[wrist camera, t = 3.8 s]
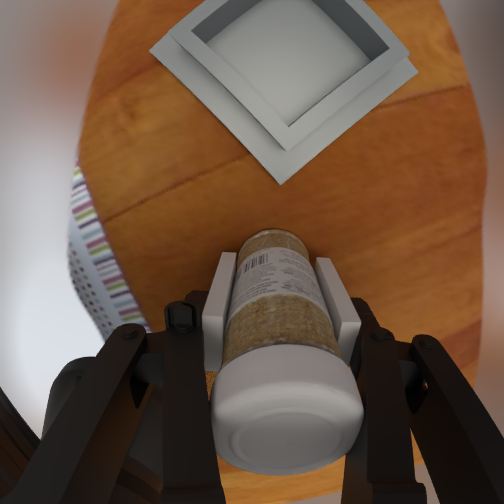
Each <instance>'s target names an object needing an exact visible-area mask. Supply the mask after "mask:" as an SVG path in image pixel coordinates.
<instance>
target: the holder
mask: <svg viewBox="0 0 504 504" xmlns="http://www.w3.org/2000/svg"><path fill="white" fill-rule="evenodd" d="M149 51H150V52H151V53H152V54H153V55H154V56H155V57H156V58H157V59H158V60H159V61H160V62H161V63H162V64H163V65H165V66H166V67H167V68H168V69H169V70H170V71H171V72H172V73H173V74H174V75H175V76H176V77H177V78H178V79H179V80H180V81H181V82H182V83H183V84H184V85H185V86H186V87H187V88H188V89H189V90H190V91H192V92H193V93H194V94H195V95H196V96H197V97H198V98H199V99H200V100H201V101H202V102H203V103H204V104H205V105H206V106H207V107H208V108H209V109H210V110H211V111H212V112H213V114H214V115H215V116H216V117H217V118H218V119H219V120H220V121H221V122H222V123H223V124H224V125H225V126H226V127H227V128H228V129H229V130H230V131H231V132H232V133H233V134H234V135H235V136H236V137H237V138H238V139H239V140H240V142H241V143H242V144H243V145H244V146H245V147H246V148H247V149H248V150H249V151H250V152H251V153H252V154H253V155H254V157H255V158H256V159H257V160H258V161H259V162H260V163H261V164H262V165H263V166H264V167H265V169H266V170H267V171H268V172H269V173H270V174H271V175H272V176H273V177H274V178H275V180H276V181H277V182H278V183H279V184H280V185H282V184H283V183H284V182H285V181H286V180H288V179H289V178H290V177H291V176H292V175H293V174H295V173H296V172H297V171H298V170H299V169H301V168H302V167H303V166H304V165H305V164H306V163H308V162H309V161H310V160H311V159H312V158H314V157H315V156H316V155H317V154H318V153H319V152H321V151H322V150H323V149H324V148H325V147H327V146H328V145H329V144H330V143H331V142H333V141H334V140H335V139H336V138H338V137H339V136H340V135H341V134H342V133H344V132H345V131H346V130H347V129H348V128H350V127H351V126H352V125H353V124H355V123H356V122H357V121H358V120H359V119H361V118H362V117H363V116H364V115H366V114H367V113H368V112H369V111H370V110H372V109H373V108H374V107H375V106H377V105H378V104H379V103H380V102H382V101H383V100H384V99H385V98H387V97H388V96H389V95H390V94H392V93H393V92H394V91H395V90H397V89H398V88H399V87H400V86H402V85H403V84H404V83H406V82H407V81H408V80H409V79H411V78H412V77H413V76H414V75H416V74H417V73H418V71H417V70H416V68H415V67H414V66H413V64H412V63H411V62H410V60H409V59H408V58H407V56H408V55H410V52H409V51H408V50H407V49H406V48H405V46H404V45H403V44H402V43H401V41H400V40H399V39H398V38H397V37H396V36H395V34H394V33H393V32H392V31H391V30H390V29H389V28H388V26H387V25H386V24H385V23H384V22H383V21H382V20H381V19H380V18H379V17H378V16H377V15H376V13H375V12H374V11H373V10H372V9H371V8H370V7H369V6H368V5H367V4H366V3H365V2H364V1H363V0H205V1H204V2H203V3H202V4H200V5H199V6H198V7H197V8H195V9H194V10H193V11H192V12H190V13H189V14H188V15H187V16H186V17H184V18H183V19H182V20H181V21H180V22H179V23H177V24H176V25H175V26H174V27H173V28H172V29H171V30H169V31H168V32H167V34H166V35H165V36H164V37H163V38H162V39H161V40H160V41H159V42H157V43H156V44H155V45H154V46H153V47H152V48H151V49H150V50H149Z"/></svg>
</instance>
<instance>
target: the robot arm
mask: <svg viewBox="0 0 504 504" xmlns="http://www.w3.org/2000/svg"><path fill="white" fill-rule="evenodd" d="M314 273H315V276H316V279H317V282H318V284H319V288H320V290H321V293H322V296H323V299H324V302H325V304H326V307H327V310H328V313H329V316H330V319H331V322H332V325H333V328H334V336H335V338H336V342H337V344H338V347H339V351H340V353H341V356H342V359H343V362H344V363H345V364H346V365H347V366H348V367H349V366H350V367H351V370H352V374H353V376H354V378H355V381H356V384H357V388H358V391H359V394H360V397H361V401H362V404H363V408H364V420H363V423H362V426H361V428H360V431H359V433H358V436H357V438H356V440H355V442H354V444H353V446H352V448H351V449H350V451H349V452H348V453H347V454H346V458H345V469H344V479H343V489H342V497H341V504H427V495H426V488H425V486H424V484H423V483H417V481H416V479H415V470H414V458H413V448H412V439H411V431H412V433H413V435H414V438H415V440H416V442H417V445H418V447H419V450H420V452H421V455H422V457H423V460H424V462H425V465H426V467H427V470H428V473H429V475H430V478H431V480H432V483H433V486H434V488H435V491H436V494H437V497H438V499H439V502H440V504H504V438H503V436H502V434H501V433H500V431H499V430H498V428H497V426H496V424H495V423H494V421H493V420H492V418H491V417H490V415H489V413H488V412H487V410H486V409H485V407H484V405H483V404H482V402H481V401H480V399H479V398H478V396H477V395H476V393H475V392H474V390H473V389H472V387H471V386H470V384H469V383H468V381H467V380H466V378H465V377H464V376H463V374H462V373H461V371H460V370H459V368H458V367H457V366H456V364H455V363H454V361H453V360H452V359H451V357H450V356H449V354H448V353H447V352H446V350H445V349H444V348H443V346H442V345H441V343H440V342H439V341H438V340H437V339H435V338H434V337H432V336H430V335H424V334H420V335H416V336H415V337H413V340H412V343H406V342H400V341H396V340H395V338H394V335H393V333H391V332H390V331H389V330H387V329H385V328H382V327H380V325H379V324H378V322H377V320H376V318H375V316H374V315H373V313H372V311H371V310H370V307H369V306H368V304H367V303H366V302H365V301H364V300H362V299H361V298H350V297H349V295H348V293H347V291H346V289H345V287H344V285H343V283H342V281H341V279H340V277H339V275H338V273H337V271H336V269H335V268H334V266H333V264H332V262H331V260H330V258H321V257H316V264H315V272H314ZM235 275H236V253H231V252H222V255H221V258H220V261H219V264H218V267H217V270H216V273H215V276H214V279H213V282H212V285H211V288H210V291H196V290H193V291H192V292H190V293H189V294H187V295H186V298H185V300H184V301H175V302H172V303H170V304H168V305H167V306H166V307H165V309H164V313H165V323H166V330H165V331H162V332H157V333H146V330H145V328H144V327H143V326H141V325H139V324H135V323H128V324H123V325H121V326H119V327H117V328H116V329H115V330H114V331H113V333H112V334H111V335H110V337H109V338H108V340H107V341H106V342H105V344H104V345H103V347H102V348H101V350H100V351H99V353H98V354H97V355H96V357H82V358H78V359H75V360H73V361H71V362H69V363H68V364H67V365H66V366H65V367H64V368H63V369H62V371H61V372H60V373H59V375H58V376H57V378H56V379H55V380H54V382H53V384H52V387H51V390H50V394H49V399H48V404H47V409H46V414H45V420H44V426H43V432H42V437H41V440H40V439H39V438H38V437H37V436H36V434H35V433H34V432H33V431H32V430H31V429H30V427H29V426H28V425H27V423H26V422H25V421H24V419H23V418H22V417H21V415H20V414H19V413H18V411H17V410H16V409H15V407H14V406H13V405H12V403H11V402H10V400H9V399H8V397H7V396H6V395H5V393H4V392H3V390H2V389H1V387H0V504H226V500H225V495H224V491H223V487H222V485H221V480H220V474H219V468H218V462H217V455H216V449H215V443H214V436H213V429H212V422H211V415H210V407H209V400H208V392H207V384H206V376H205V371H213V372H219V370H220V368H221V363H222V356H223V350H224V343H225V342H224V332H225V326H226V320H227V315H228V309H229V304H230V298H231V293H232V288H233V283H234V278H235ZM426 383H427V386H428V388H427V387H426V385H425V384H426ZM410 428H411V431H410Z"/></svg>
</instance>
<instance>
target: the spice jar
mask: <svg viewBox="0 0 504 504" xmlns="http://www.w3.org/2000/svg"><path fill="white" fill-rule="evenodd" d="M237 268H238V270H237V272H236V275H235V278H234V283H233V288H232V293H231V298H230V304H229V309H228V315H227V320H226V326H225V332H224V342H225V343H224V350H223V356H222V363H221V368H220V370H219V373H218V375H217V376H216V378H215V380H214V382H213V386H212V389H211V394H210V400H209V407H210V415H211V422H212V429H213V436H214V443H215V449H216V454H217V455H218V456H219V457H221V458H222V459H223V460H225V461H226V462H228V463H229V464H231V465H233V466H235V467H237V468H240V469H242V470H245V471H249V472H253V473H257V474H264V475H279V476H281V475H294V474H301V473H306V472H309V471H313V470H317V469H319V468H322V467H325V466H327V465H329V464H331V463H333V462H335V461H337V460H338V459H340V458H341V457H343V456H344V455H346V454H347V453H348V452H349V451H350V449H351V448H352V446H353V444H354V442H355V440H356V438H357V436H358V433H359V431H360V428H361V426H362V423H363V420H364V408H363V404H362V401H361V397H360V394H359V391H358V388H357V384H356V381H355V378H354V376H353V374H352V372H351V370H350V369H349V367H348V366H347V365H346V364H345V363H344V362H343V359H342V356H341V353H340V351H339V347H338V344H337V342H336V338H335V336H334V328H333V325H332V322H331V319H330V316H329V313H328V310H327V307H326V304H325V302H324V299H323V296H322V293H321V290H320V288H319V284H318V282H317V279H316V276H315V273H314V271H313V268H312V267H311V265H310V262H309V254H308V251H307V249H306V248H305V246H304V244H303V243H302V241H301V240H300V239H299V238H298V237H296V236H295V235H293V234H292V233H290V232H287V231H284V230H277V229H271V230H264V231H261V232H259V233H257V234H255V235H253V236H252V237H251V238H249V239H248V240H247V241H246V242H245V243H244V245H243V246H242V248H241V250H240V252H239V256H238V260H237Z"/></svg>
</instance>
